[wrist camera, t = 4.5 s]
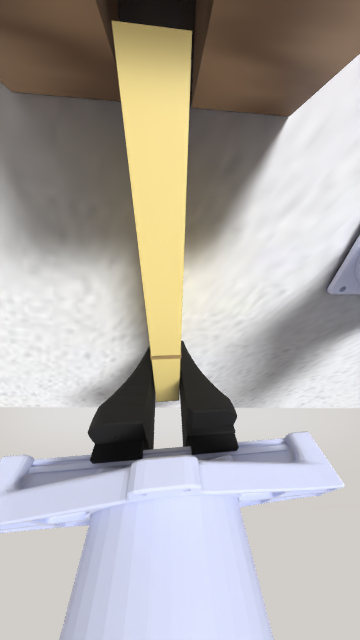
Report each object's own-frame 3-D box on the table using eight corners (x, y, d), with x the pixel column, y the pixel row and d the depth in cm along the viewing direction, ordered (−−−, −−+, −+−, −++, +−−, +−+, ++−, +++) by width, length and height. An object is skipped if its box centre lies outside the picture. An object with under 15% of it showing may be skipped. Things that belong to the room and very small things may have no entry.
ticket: (178, 148, 8) (194, 30, 3) (175, 347, 15) (179, 400, 11) (144, 146, 7) (108, 19, 3) (159, 347, 15) (156, 401, 10)
